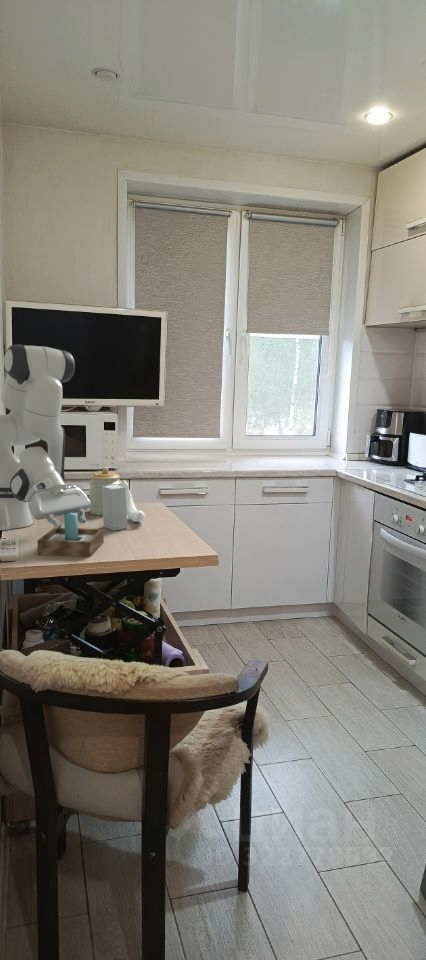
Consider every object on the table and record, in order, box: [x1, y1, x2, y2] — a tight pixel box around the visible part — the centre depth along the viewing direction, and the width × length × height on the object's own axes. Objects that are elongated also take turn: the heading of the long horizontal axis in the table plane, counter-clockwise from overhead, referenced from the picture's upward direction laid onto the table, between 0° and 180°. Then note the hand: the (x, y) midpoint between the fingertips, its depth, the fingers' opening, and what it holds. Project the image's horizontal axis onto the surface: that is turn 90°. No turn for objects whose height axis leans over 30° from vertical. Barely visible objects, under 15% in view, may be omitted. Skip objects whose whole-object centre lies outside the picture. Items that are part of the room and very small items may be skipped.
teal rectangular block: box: [63, 513, 79, 541], centre depth 199 cm, size 4×4×11 cm
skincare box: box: [102, 485, 128, 531], centre depth 226 cm, size 8×6×15 cm
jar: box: [88, 466, 123, 516], centre depth 250 cm, size 13×13×18 cm
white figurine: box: [122, 479, 146, 523], centre depth 235 cm, size 5×19×15 cm, turn 29°
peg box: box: [37, 527, 105, 558], centre depth 199 cm, size 16×16×4 cm
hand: (71, 524), depth 198 cm, fingers open, 8 cm apart
